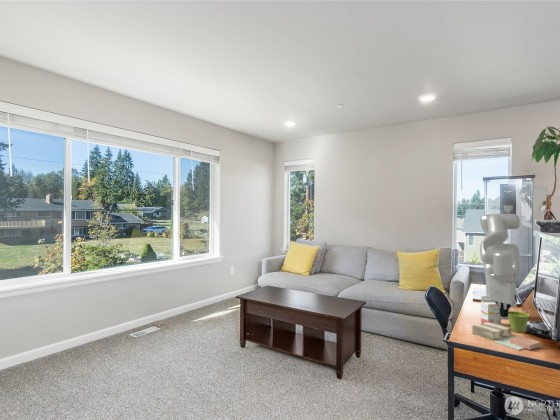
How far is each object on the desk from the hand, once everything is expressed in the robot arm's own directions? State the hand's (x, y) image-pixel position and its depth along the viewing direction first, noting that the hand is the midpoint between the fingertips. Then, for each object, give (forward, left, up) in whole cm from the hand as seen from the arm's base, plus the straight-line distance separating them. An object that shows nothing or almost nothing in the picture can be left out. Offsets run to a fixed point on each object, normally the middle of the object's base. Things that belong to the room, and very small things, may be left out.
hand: (504, 316), depth 147 cm
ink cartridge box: (-15, -16, -11) cm, 24 cm away
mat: (+1, +5, -11) cm, 12 cm away
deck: (+1, -6, -11) cm, 12 cm away
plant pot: (-17, -4, -11) cm, 21 cm away
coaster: (0, +9, -8) cm, 12 cm away
